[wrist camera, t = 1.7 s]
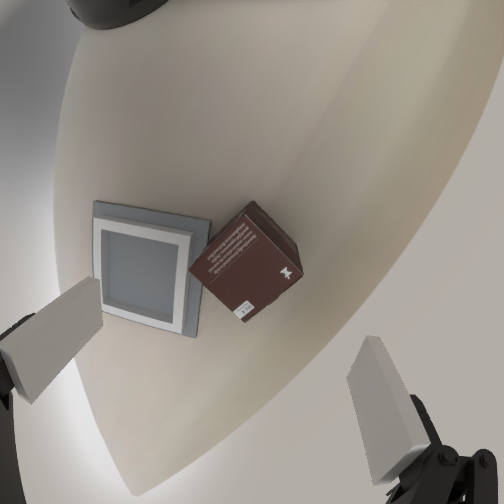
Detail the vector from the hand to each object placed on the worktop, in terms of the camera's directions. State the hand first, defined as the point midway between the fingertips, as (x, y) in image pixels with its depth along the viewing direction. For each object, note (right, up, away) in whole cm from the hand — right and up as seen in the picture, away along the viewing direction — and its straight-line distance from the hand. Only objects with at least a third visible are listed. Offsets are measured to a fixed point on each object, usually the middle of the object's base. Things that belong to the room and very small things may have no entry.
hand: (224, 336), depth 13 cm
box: (+1, +5, +14) cm, 15 cm away
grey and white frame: (-10, +2, +16) cm, 19 cm away
